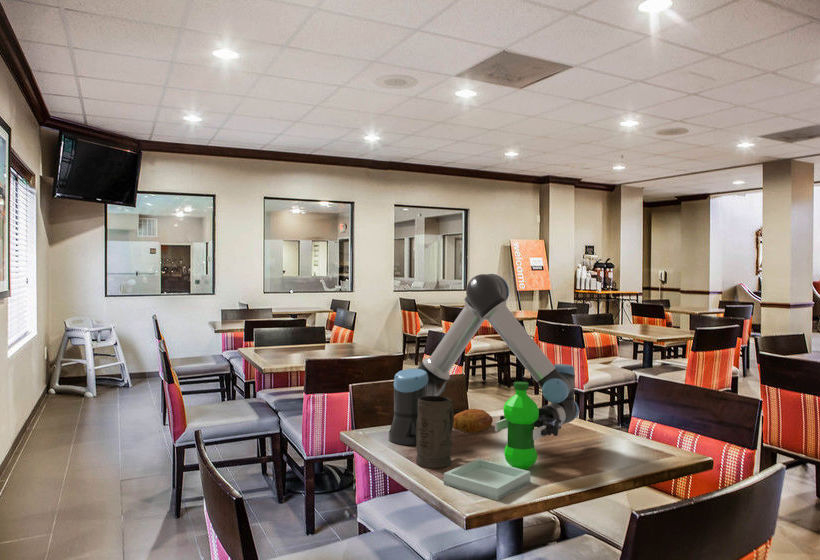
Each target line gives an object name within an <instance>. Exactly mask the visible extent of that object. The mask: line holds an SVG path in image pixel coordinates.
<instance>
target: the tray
mask: <svg viewBox="0 0 820 560" xmlns="http://www.w3.org/2000/svg"><path fill="white" fill-rule="evenodd" d="M530 483H531V471H529V470H523V469H519V468H515V467H512V466H511V465H506V464H503V463H499V462H494V461H490V460H486V459H484V458H483V459H482V458H479V457H478V458H476V459H474V460H472V461H469V462H466V463H465V464H462V465H460V466H458V467H457V466H456V467H455V468H453V469H451V470H447V471H446V472H443V485H445V486H448V485H449V487H451V486H452V488H456V489H458V490H462V491H465V492H468V493H470V494H471V493H472V494H475V495H478V496H482V497H484V498H488V499H490V500H495V501H499V500H501V499H502V498H504V497H506V496H508V495H510V494H512V493H514V492H516V491H517V490H519V489H521V488H522V487H525V486H526V485H528V484H530Z"/></svg>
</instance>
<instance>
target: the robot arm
mask: <svg viewBox="0 0 820 560" xmlns="http://www.w3.org/2000/svg"><path fill="white" fill-rule="evenodd" d="M465 289H466V290H465V292H466V296H465V298H464V299H463V301H464V305H465V306H464V307H463V308H462V310H461V311H460V313H459V314H458V316H457V317H456V318H455V320H454V322H453V323H452V324H451V326H450V328H449V329H448V330H447V332H446V333H445V334H444V336H443V338H442V339H441V340H440V342H439V343H438V345H437V346H436V348H435V349H434V351H433V352H432V354H431V355H430V356H429V357H427V358H424V359H422V361H421V363H420V364H419V365H418V366H417V368H406V369H402V370H399V371H398V372H397V373H395V374H394V381H393V419H392V421H391V425H390V428H389V429H390V430H389V431H388V440H389V442H391V443H394V444H397V445H405V446H416V434H417V418H418V399H419V398H420V397H423V396H441V394H442V393H443V392H444V391H445V388H446V383H447V382H448V381H449V380H450V377H451V375H450V371H451V370H452V368H453V366H454V365H455V363H457V361H458V359H460V356H461V355H462V353H463V352H464V351H465V349H466V348H467V346H468V345H469V343H470V342H471V341H472V339H473V338H474V336H475V334H476V333H477V332H478V331H479V329H480V328H481V326H482V325H483V323H484V322H485V321H487V322H488V323H489V324H490V325H491V326H492V327H493V329H494V330H495V331H496V332H497V334H498V336H500V338H501V340H503V342H504V343H505V344H506V345H507V347H508V348H509V349H510V350H511V351H512V353H513V354H514V355H515V357H516V358H517V359H518V361H519V362H520V363H521V364H522V365H523V367H524V368H525V370H526V371H527V372H528V373H529V374H530V376H531V377H532V378H533V379H534V381H535V382H536V383H537V384H538V386H539V387H540V389H541V391H542V395H543V397H544V399H545V400H546V401H547V402H549V403H548V404H546V405H543V406H541V407H538V409H539V416H538V419H537V420H536V421H535V422H534V430H533V439H534V441H536V440H539V439H541V438H542V437H546V436H551V435H552V436H554V437H558V435H559V431H560V429H562V426H563V425H565V424H568V423H569V424H570V423H571V422H572V421H574V420H575V419H577V417H578V416H579V412H580V408H579V405H578V403H577V402H576V401H575V380H576V379H575V377H576V374H575V367H574V366H573V365H571V364H564V363H558V364H553V363H552V362H551V360H550V358H548V356H547V355H546V354H545V353H544V352H543V350H542V349H541V347H539V345H538V344H537V343H536V341H535V340H534V339H533V337H532V336H530V334H529V333H528V331H527V330H526V329H525V328H524V327H523V326H522V324H521V322H519V320H518V319H517V318H516V317H515V315H514V314H513V313H512V311H510V309H509V308H508V306H507V300H508V299H509V296H510V287H509V284H508V282H507V281H506V280H505V279H504V278H503V277H502V276H500V275H497V274H495V273H481V274H480V273H479V274H476V275H475V276H473V277H472V278H471V279H470V280H469V281H468V283H467V285H466V288H465ZM505 429H507V430H508V421H507V420H506V419H505V416H504V415H500V416H499V420H497V421H495V422H494V432H499V431H502V430H505Z"/></svg>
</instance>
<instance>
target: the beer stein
mask: <svg viewBox="0 0 820 560" xmlns="http://www.w3.org/2000/svg"><path fill="white" fill-rule="evenodd" d="M454 412H455V411H454V407H453V399H450V398H449V397H446V396H441V395H439V396H423V397H420V398H419V399H418V418H417V434H416V445H415V446H416V447H415V449H416V457H415V458H416V459H415V462H416V464H417V465H418V466H419V467H422V468H426V469H444V468H447V467H449V466H450V465H451V464H452V458H451V453H452V448H451V447H452V446H453V442H452V439H451V437H452V432H453V429H454V428H453V424H454V416H455V413H454Z"/></svg>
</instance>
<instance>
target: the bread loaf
mask: <svg viewBox="0 0 820 560" xmlns="http://www.w3.org/2000/svg"><path fill="white" fill-rule="evenodd" d="M492 424H493V416H492V415H490V414H489V413H488V412H487V411H486V410H484V409H480V408H479V409H478V408H469V409H465V410H463V411H460V412H458V413H455V414H454V424H453V429H454V430H456V429H459V430H458V431H460V430H461V431H460V432H463V431H464V433H468V432H469V433H470V434H474V432H475V433H479V432H482V431H484V430H487V429H489V428H490V427H491V426H492ZM469 433H468V434H469Z"/></svg>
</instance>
